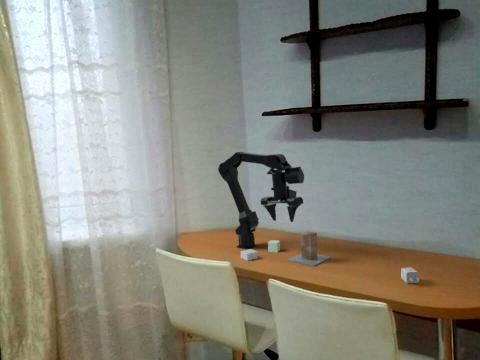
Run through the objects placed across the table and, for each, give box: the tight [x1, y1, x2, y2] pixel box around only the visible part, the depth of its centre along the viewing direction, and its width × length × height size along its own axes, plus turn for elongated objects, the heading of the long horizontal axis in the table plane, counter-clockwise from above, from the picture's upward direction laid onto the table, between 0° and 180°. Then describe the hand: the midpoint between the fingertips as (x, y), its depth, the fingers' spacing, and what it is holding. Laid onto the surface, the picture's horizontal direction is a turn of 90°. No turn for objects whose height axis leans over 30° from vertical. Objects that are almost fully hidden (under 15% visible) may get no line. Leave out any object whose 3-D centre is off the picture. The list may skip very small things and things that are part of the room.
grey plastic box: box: [240, 248, 259, 262], centre depth 178 cm, size 5×5×3 cm
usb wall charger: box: [400, 267, 420, 285], centre depth 143 cm, size 4×7×4 cm, turn 2°
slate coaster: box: [287, 253, 332, 267], centre depth 172 cm, size 12×12×1 cm
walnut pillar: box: [300, 231, 318, 260], centre depth 171 cm, size 4×4×10 cm
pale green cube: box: [267, 239, 281, 253], centre depth 187 cm, size 4×4×4 cm
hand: (283, 221), depth 183 cm, fingers open, 9 cm apart
